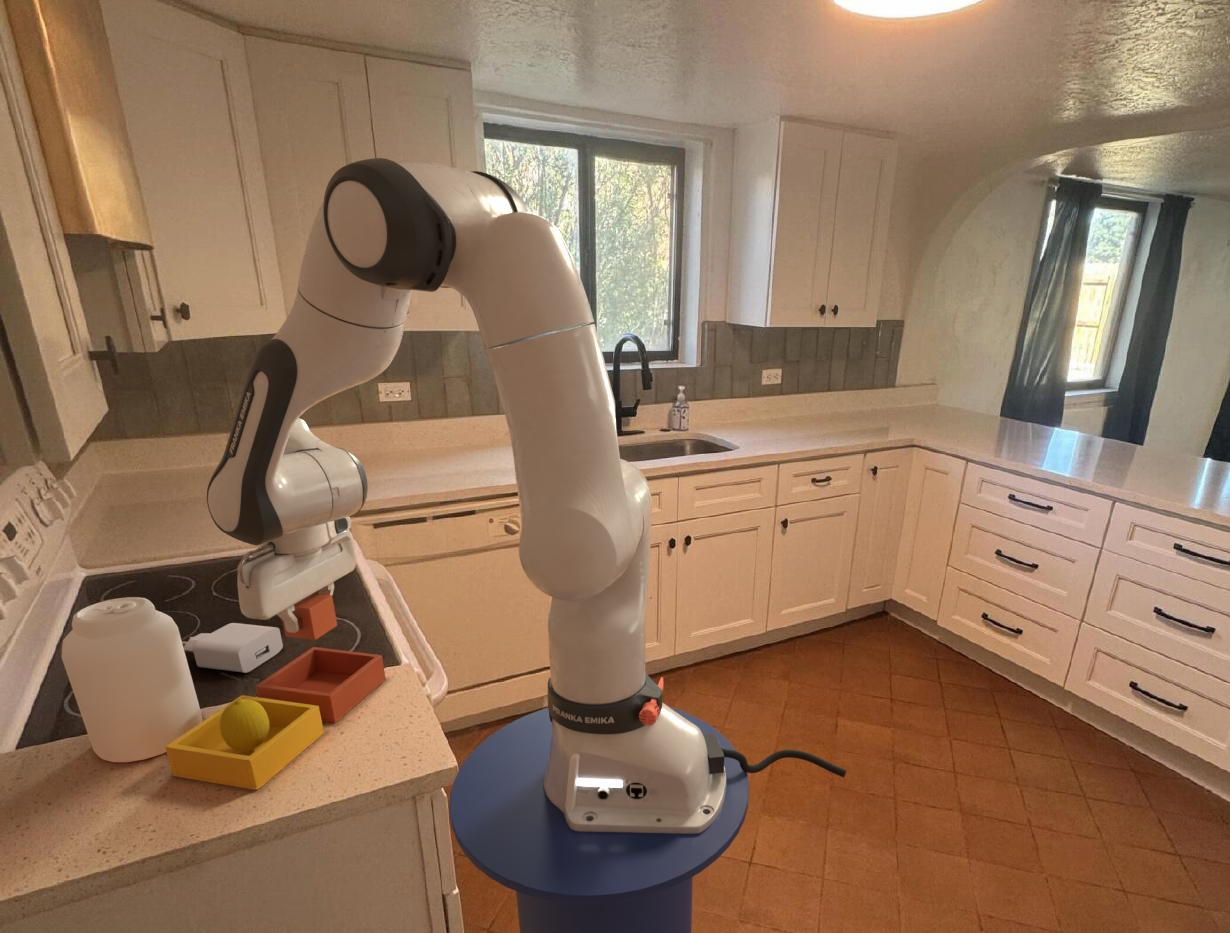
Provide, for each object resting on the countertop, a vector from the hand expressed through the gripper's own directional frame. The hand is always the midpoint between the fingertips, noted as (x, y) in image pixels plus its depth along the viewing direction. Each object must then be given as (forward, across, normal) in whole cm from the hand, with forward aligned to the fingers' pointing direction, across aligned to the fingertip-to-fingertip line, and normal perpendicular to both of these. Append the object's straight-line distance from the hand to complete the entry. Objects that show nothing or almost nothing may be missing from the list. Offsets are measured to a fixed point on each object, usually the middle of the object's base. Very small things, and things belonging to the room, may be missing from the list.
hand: (310, 621), depth 103 cm
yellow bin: (+13, -15, 0) cm, 20 cm away
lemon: (+13, -15, 0) cm, 20 cm away
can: (+13, -15, +16) cm, 26 cm away
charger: (+13, +7, +24) cm, 29 cm away
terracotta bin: (+13, 0, 0) cm, 13 cm away
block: (+2, 0, 0) cm, 2 cm away
